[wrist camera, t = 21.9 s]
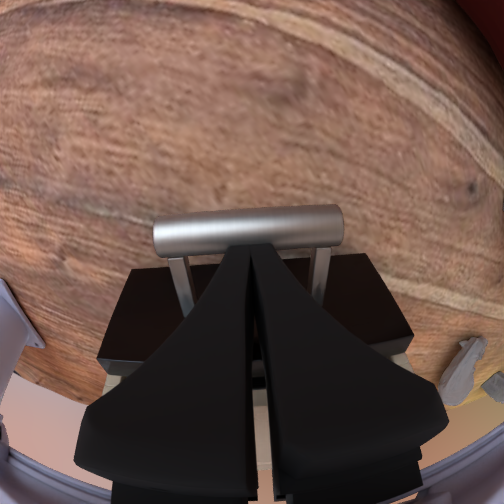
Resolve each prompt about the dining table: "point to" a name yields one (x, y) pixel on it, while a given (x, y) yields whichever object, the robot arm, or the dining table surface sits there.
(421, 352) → the dining table surface
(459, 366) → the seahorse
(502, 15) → the ashtray
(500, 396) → the mineral specimen
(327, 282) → the drawer
